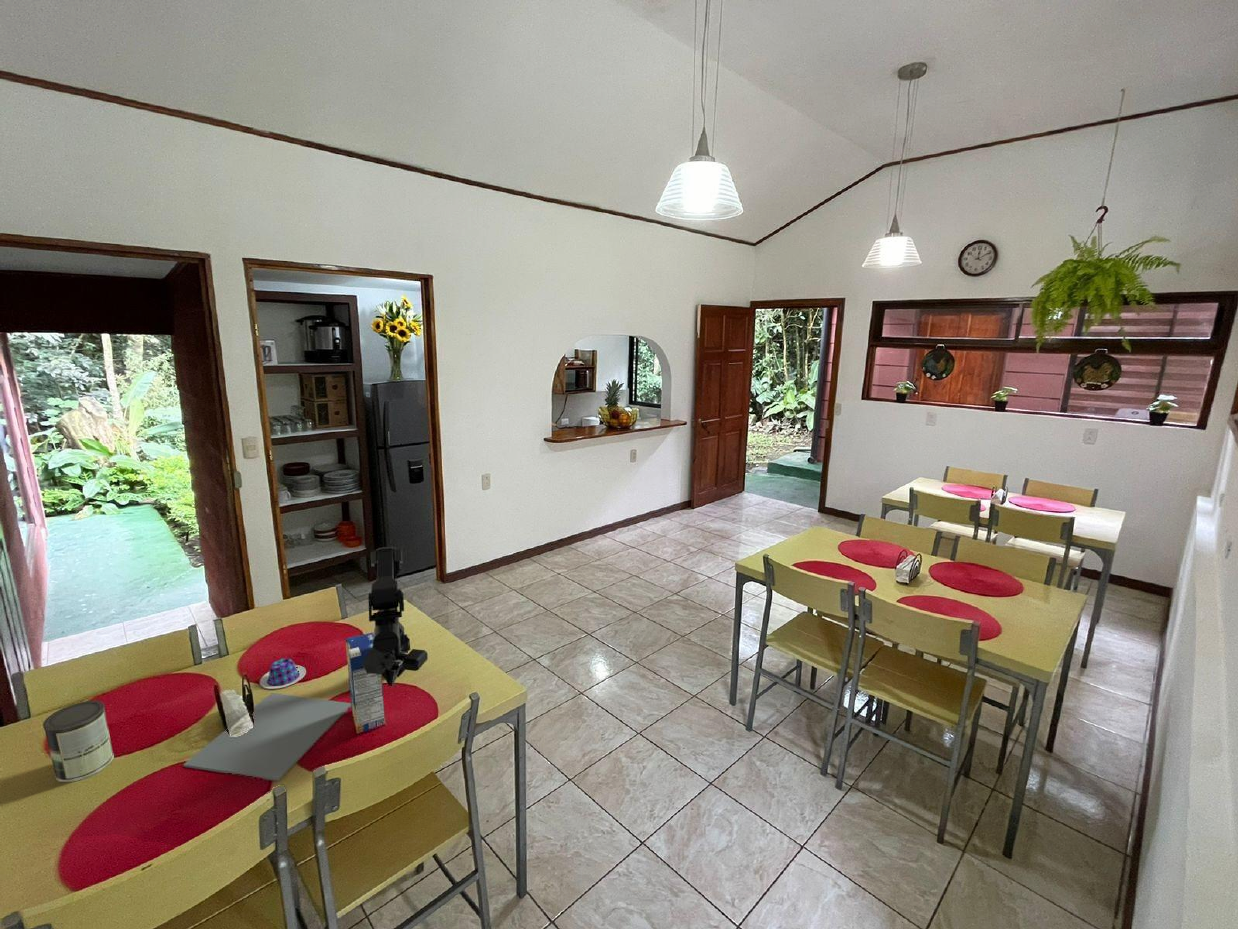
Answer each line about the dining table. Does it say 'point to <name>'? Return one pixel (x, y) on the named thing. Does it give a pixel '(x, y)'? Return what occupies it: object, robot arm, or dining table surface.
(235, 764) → the mat
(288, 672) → the pudding
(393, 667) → the robot arm
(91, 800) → the dining table surface
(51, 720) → the coffee can
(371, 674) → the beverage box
